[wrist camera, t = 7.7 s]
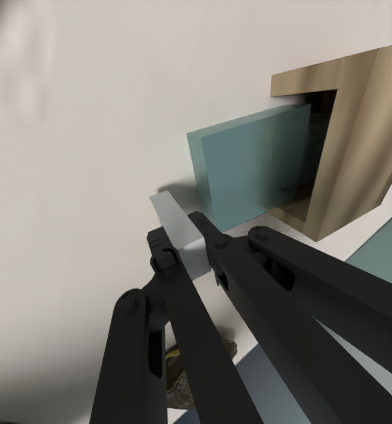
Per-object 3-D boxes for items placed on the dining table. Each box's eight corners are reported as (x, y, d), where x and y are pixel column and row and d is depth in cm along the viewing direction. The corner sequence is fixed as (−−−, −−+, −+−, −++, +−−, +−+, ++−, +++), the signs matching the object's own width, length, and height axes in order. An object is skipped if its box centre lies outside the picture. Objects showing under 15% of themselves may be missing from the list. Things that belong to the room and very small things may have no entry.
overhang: (264, 210, 22) (316, 242, 16) (271, 75, 14) (379, 48, 8) (318, 184, 24) (380, 205, 19) (351, 56, 16) (476, 26, 11)
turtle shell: (202, 408, 37) (138, 472, 22) (184, 361, 43) (125, 386, 28) (257, 362, 36) (231, 396, 21) (231, 321, 42) (197, 324, 27)
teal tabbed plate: (203, 219, 18) (217, 235, 16) (185, 133, 13) (201, 137, 11) (297, 178, 22) (320, 186, 19) (312, 96, 17) (345, 93, 14)
